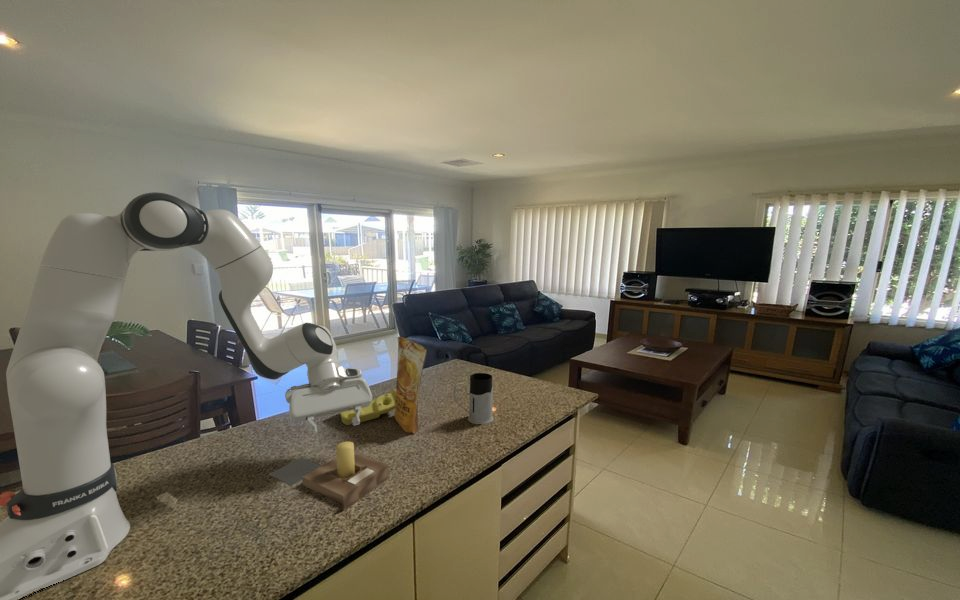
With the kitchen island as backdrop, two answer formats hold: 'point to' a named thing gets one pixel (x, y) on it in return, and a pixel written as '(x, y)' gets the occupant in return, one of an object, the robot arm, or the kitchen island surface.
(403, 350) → the pancake mix bag
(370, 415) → the plastic component
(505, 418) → the kitchen island surface
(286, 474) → the plate
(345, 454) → the peg
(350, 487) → the hole block
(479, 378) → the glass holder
